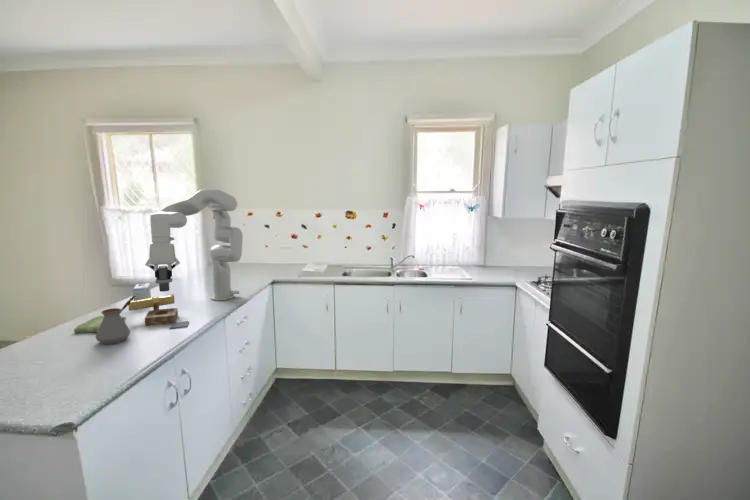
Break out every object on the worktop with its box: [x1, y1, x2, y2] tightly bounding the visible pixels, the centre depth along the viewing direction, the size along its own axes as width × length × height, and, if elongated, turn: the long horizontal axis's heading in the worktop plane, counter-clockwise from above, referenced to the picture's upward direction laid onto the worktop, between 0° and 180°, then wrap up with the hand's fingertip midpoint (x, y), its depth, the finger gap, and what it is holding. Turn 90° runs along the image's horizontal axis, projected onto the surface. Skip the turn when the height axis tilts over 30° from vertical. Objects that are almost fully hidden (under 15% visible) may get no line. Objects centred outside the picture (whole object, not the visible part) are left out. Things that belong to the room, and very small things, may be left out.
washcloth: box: [73, 315, 127, 334], centre depth 159 cm, size 13×18×3 cm
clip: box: [127, 293, 176, 312], centre depth 170 cm, size 3×19×5 cm, turn 133°
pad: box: [169, 320, 189, 330], centre depth 162 cm, size 7×7×1 cm
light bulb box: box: [132, 282, 152, 301], centre depth 190 cm, size 11×7×11 cm, turn 25°
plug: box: [154, 265, 173, 293], centre depth 163 cm, size 7×7×12 cm
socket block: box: [144, 306, 179, 327], centre depth 168 cm, size 12×14×5 cm
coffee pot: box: [95, 295, 138, 345], centre depth 147 cm, size 21×12×15 cm, turn 2°
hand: (163, 278), depth 163 cm, fingers closed on plug, 4 cm apart
